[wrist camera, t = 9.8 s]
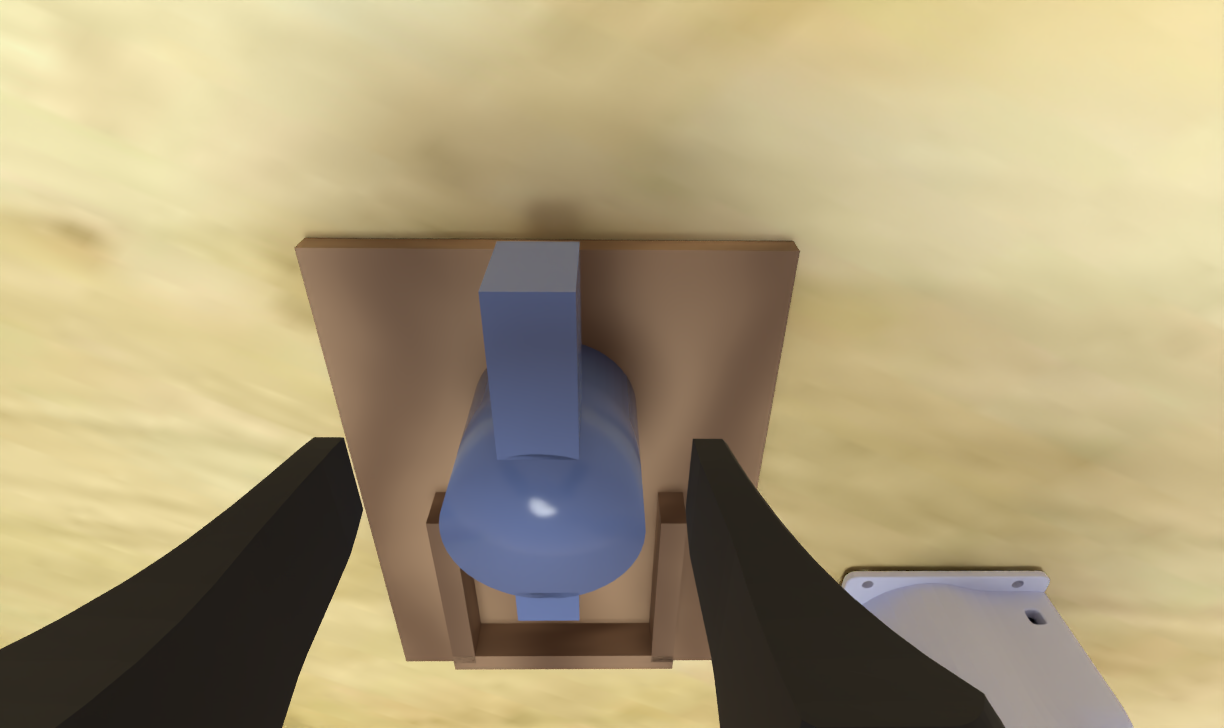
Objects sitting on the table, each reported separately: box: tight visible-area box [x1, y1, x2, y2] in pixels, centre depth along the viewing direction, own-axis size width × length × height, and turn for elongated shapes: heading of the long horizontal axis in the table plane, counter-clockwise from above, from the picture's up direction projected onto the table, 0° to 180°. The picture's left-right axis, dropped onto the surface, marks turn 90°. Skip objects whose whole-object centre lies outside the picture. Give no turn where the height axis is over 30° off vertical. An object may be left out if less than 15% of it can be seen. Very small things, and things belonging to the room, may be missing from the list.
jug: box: [439, 241, 646, 621], centre depth 20 cm, size 12×6×6 cm, turn 179°
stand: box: [295, 238, 800, 669], centre depth 26 cm, size 16×22×2 cm
